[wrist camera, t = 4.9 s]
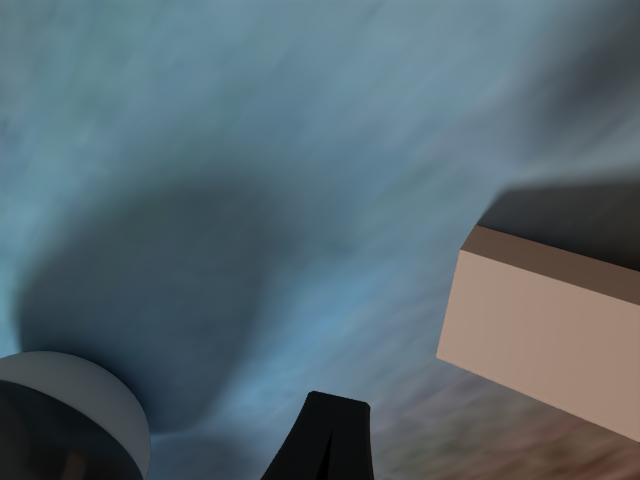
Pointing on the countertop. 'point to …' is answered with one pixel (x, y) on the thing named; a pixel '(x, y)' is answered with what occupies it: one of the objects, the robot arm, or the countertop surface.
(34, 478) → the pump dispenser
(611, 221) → the countertop surface
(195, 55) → the countertop surface
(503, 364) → the end domino
